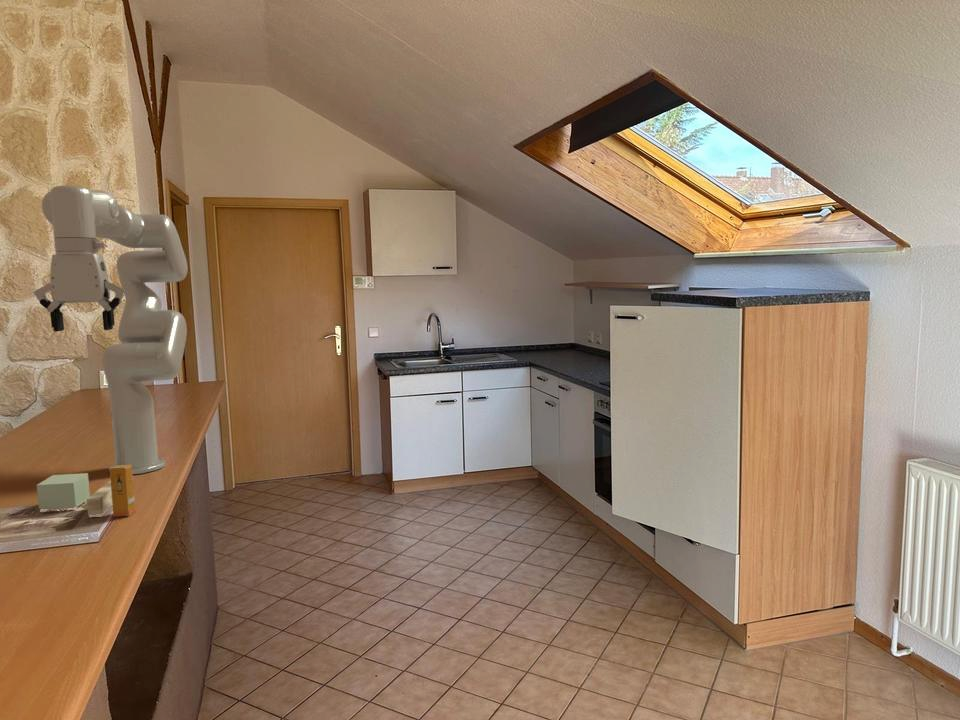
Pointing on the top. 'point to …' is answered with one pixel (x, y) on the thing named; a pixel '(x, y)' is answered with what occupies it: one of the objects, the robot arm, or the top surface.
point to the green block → (63, 491)
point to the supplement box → (122, 490)
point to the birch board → (100, 500)
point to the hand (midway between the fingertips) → (83, 330)
